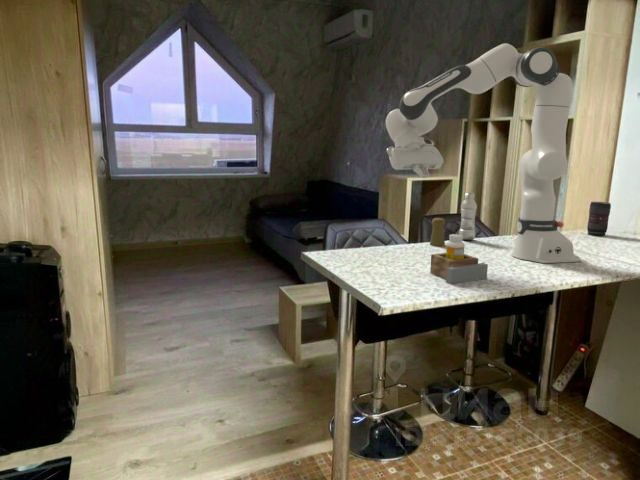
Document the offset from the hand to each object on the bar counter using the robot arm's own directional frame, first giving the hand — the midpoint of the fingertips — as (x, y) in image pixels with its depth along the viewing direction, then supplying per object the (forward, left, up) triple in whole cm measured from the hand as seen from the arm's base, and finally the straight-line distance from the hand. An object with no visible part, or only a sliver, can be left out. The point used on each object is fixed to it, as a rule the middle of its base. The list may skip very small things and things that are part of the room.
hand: (425, 176), depth 160 cm
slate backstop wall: (-9, +26, -29) cm, 40 cm away
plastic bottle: (-27, -35, -30) cm, 53 cm away
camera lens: (-90, -48, -30) cm, 106 cm away
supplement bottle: (-6, +20, -26) cm, 34 cm away
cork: (-12, -25, -30) cm, 40 cm away
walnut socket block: (-6, +20, -29) cm, 36 cm away
